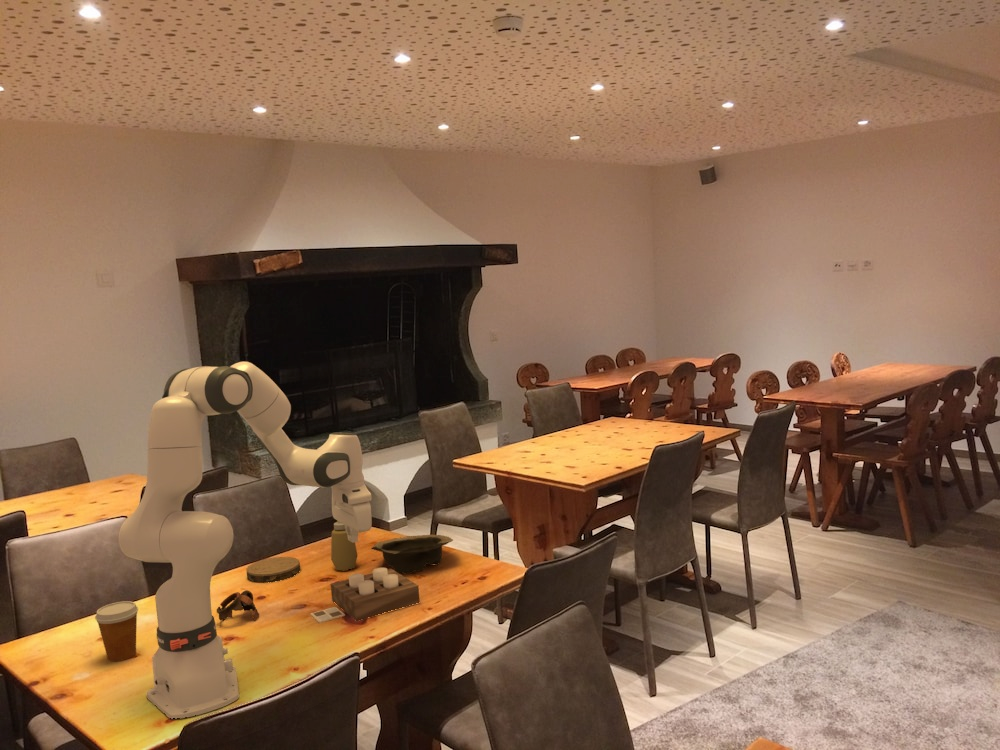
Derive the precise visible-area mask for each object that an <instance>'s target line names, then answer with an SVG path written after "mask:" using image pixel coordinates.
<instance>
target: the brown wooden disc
mask: <svg viewBox="0 0 1000 750" xmlns="http://www.w3.org/2000/svg"><path fill="white" fill-rule="evenodd" d="M245 570H246V578H247V579H246V580H247V581H249V582H250V583H255V584H268V582H269V584H271V583H276V582H275V581H277V582H281V581H280V580H282V581H285V580H284V579H286V580H288V579H287V578H289V579H291V578H293V577H295V576H297V575H298V574H300V572H301V561H300V560H299V558H296V557H293V556H278V557H277V556H275V557H270V558H265V559H261V560H258V561H255V562H253V563H251V564H249V565H248V566H247V567H246V569H245ZM299 571H300V572H299ZM297 573H298V574H297ZM296 574H297V575H296ZM294 575H295V576H294ZM290 577H291V578H290ZM270 582H271V583H270Z"/></svg>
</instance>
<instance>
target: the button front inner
mask: <svg viewBox="0 0 1000 750" xmlns="http://www.w3.org/2000/svg"><path fill="white" fill-rule="evenodd" d="M358 585H359V595H360V596H365V595H368V594H372V593H375V592H374V582H373V581H371V580H365V581H361V582H359V583H358Z"/></svg>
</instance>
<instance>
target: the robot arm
mask: <svg viewBox="0 0 1000 750" xmlns="http://www.w3.org/2000/svg"><path fill="white" fill-rule="evenodd" d="M291 411H292V405H291V403H290V401H289V399H288V397H287V396H286V394H285V393H284V392H283V391H282V390H281V388H280V387H279V386H278V384H276V383H275V381H273V379H271V377H270V376H268V375H267V374H266V373H265V372H264V371H263V370H262V369H260V368H259V367H257V366H256V365H255V364H253V363H252V362H249V361H239V362H236V363H234V364H232V365H230V366H227V365H226V366H225V365H223V366H222V365H221V366H208V365H204V366H197V367H196V366H195V367H192V368H183V369H181V370H178V371H176V372H174V373H173V374H172V375H171V376H169V377H168V379H167V381H166V382H165V385H164V389H163V394H162V397H161V399H159V400H157V401H156V402H155V403H154V404H153V406H152V408H151V411H150V416H149V423H148V431H147V465H146V467H147V469H146V470H147V474H146V484H145V488H144V493H143V494H142V498H141V499H140V502H139V504H138V506H137V507H136V508H135V510H134V511H133V513H131V515H129V516H128V517H127V518H126V519H125V520H124V521H123V523H122V524H121V526H120V529H119V532H118V538H117V539H118V545H119V549H120V550H121V552H122V553H123V555H124V556H126V557H128V558H130V559H133V560H136V561H141V562H145V563H171V565H172V575H171V578H169V579H167V580H166V581H165V582H163V584H161V585H160V586H159V588H158V589H157V591H156V593H155V597H154V600H155V609H156V618H157V627H156V639H157V645H158V648H157V650H156V651H155V653H154V654H153V656H152V657H151V661H152V663H151V664H152V675H153V685H154V686H153V687H152V688H150V689H149V690H148V691H146V693H145V694H146V699H147V698H148V699H147V700H148V701H150V702H151V703H152V705H154V706H155V705H156V706H157V707H156V706H155V707H156V708H158V709H159V711H161V712H162V714H164V713H165V714H166V716H167V718H169V719H170V718H171V719H170V720H178V719H177V718H180V719H185V717H187V718H190V717H195V715H196V716H199V715H203V714H206V713H209V712H212V711H216V710H218V709H221V708H224V707H225V706H228V705H230V704H232V703H234V702H235V701H237V700H238V699H239V698H240V693H239V683H238V675H237V674H238V673H237V668H236V667H235V666H234V665H233V658H228V659H225V655H227V654H228V655H229V652H228V650H229V649H228V647H224V644H223V638H222V637H220V636H219V635H218V634H217V633H218V632H217V623H216V621H215V616H213V614H212V611H213V610H212V602H211V601H212V599H211V581H212V577H213V573H214V572H215V571H214V570H215V568H216V567H217V565H218V564H219V562H221V560H223V559H224V558H225V557H226V555H228V553H229V552H230V551H231V548H232V546H233V543H234V529H233V526H232V524H231V522H230V520H229V518H227V517H226V516H225V515H221V514H217V513H215V512H210V511H209V512H208V511H203V510H201V511H199V510H198V511H197V510H196V511H195V510H193V511H192V510H191V511H190V510H184V511H183V510H182V508H183V503H184V500H185V498H186V496H187V495H188V494H189V493H190V492H192V491H194V490H195V489H197V488H198V486H199V485H200V484H201V482H202V481H203V436H202V427H203V426H202V425H203V422H204V420H205V417H207V416H216V415H228V414H232V413H235V412H236V413H238V414H239V415H240V416H241V417H242V419H244V421H245V422H246V423H247V424H248V425H249V426H250V429H251V430H252V433H253V434H254V436H255V437H256V438H257V440H258V441H259V442H260V443H261V445H262V447H263V448H264V449H265V450H266V452H267V453H268V454H269V455H270V456H271V458H272V459H273V461H274V463H275V464H276V467H277V470H278V472H279V475H280V477H281V479H282V480H283V481H284V482H285V483H286V484H288V485H289V486H290V485H291V486H306V487H312V488H313V487H315V488H324V489H325V488H331V513H332V518H333V519H334V520H336V521H337V520H338V521H339V522H341V523H343V524H345V529H346V532H347V536H348V540H349V541H351V542H353V543H354V542H355V543H357V542H359V538H358V536H359V534H360V533H366V532H369V531H371V530H372V526H373V525H372V524H373V522H372V521H373V520H372V519H373V518H372V506H371V503H370V502H371V501H372V498H373V497H372V493H371V492H370V491H369V490H368V487H367V485H366V484H365V477H364V473H363V463H364V460H363V451H362V446H361V442H360V439H359V437H358V435H357V434H355V433H352V432H341V431H340V432H332V433H330V434H329V436H328V439H327V440H326V441H325V442H324V443H323V444H322V445H321V446H319V447H318V448H317V449H315V448H305V447H301V446H298V445H296V444H294V443H293V442H292V440H291V439H290V438H289V436H288V435H287V434H286V432H285V431H284V430H283V429H282V428H283V427H284V426H285V424H287V422H288V421H289V419H290V416H291ZM165 714H164V715H165ZM173 718H175V719H173Z"/></svg>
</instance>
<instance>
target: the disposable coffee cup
mask: <svg viewBox="0 0 1000 750" xmlns="http://www.w3.org/2000/svg"><path fill="white" fill-rule="evenodd" d="M138 611H139V607H138V606H137V604H136V602H134V601H130V600H129V601H128V600H126V601H117V602H113V603H108V604H106V605H103V606H101V607H100V608H98V609H97V610H96V614H95V617H94V619H95V621H96V622H97V624H98V628H99V631H100V637H101V638H102V639H101V640H102V643H103V646H104V649H105V654H106V657H107V660H108V661H109V660H110V662H121V661H124V660H129V659H130V658H132V657H133V656H135V655H136V654H137V621H138V619H137V615H138Z"/></svg>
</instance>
